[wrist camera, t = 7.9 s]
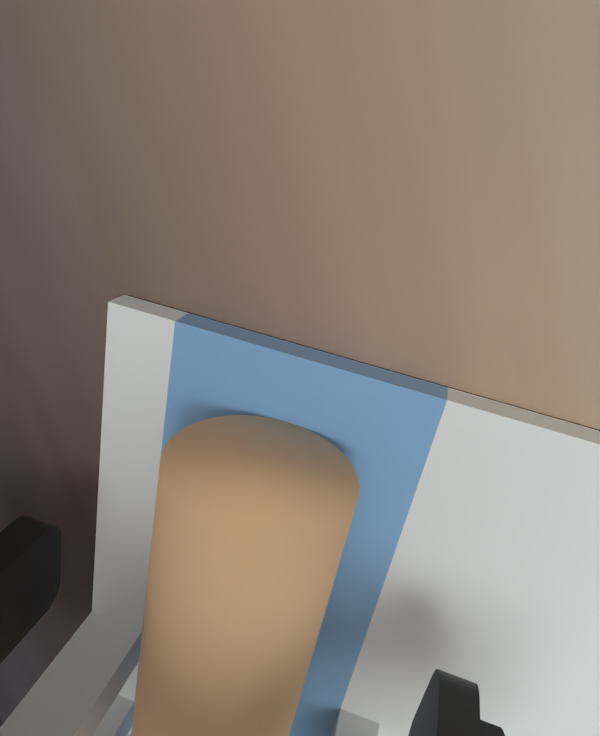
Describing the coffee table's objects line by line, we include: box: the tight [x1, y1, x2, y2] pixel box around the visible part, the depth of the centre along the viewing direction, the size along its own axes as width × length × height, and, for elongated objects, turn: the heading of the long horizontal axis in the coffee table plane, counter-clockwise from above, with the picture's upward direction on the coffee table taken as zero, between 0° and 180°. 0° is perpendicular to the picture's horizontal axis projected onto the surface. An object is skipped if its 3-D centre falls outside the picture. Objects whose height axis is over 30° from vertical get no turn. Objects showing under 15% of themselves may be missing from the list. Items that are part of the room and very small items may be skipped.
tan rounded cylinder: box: [131, 415, 360, 736], centre depth 12 cm, size 11×4×4 cm, turn 169°
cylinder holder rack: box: [0, 295, 600, 736], centre depth 12 cm, size 14×15×5 cm
